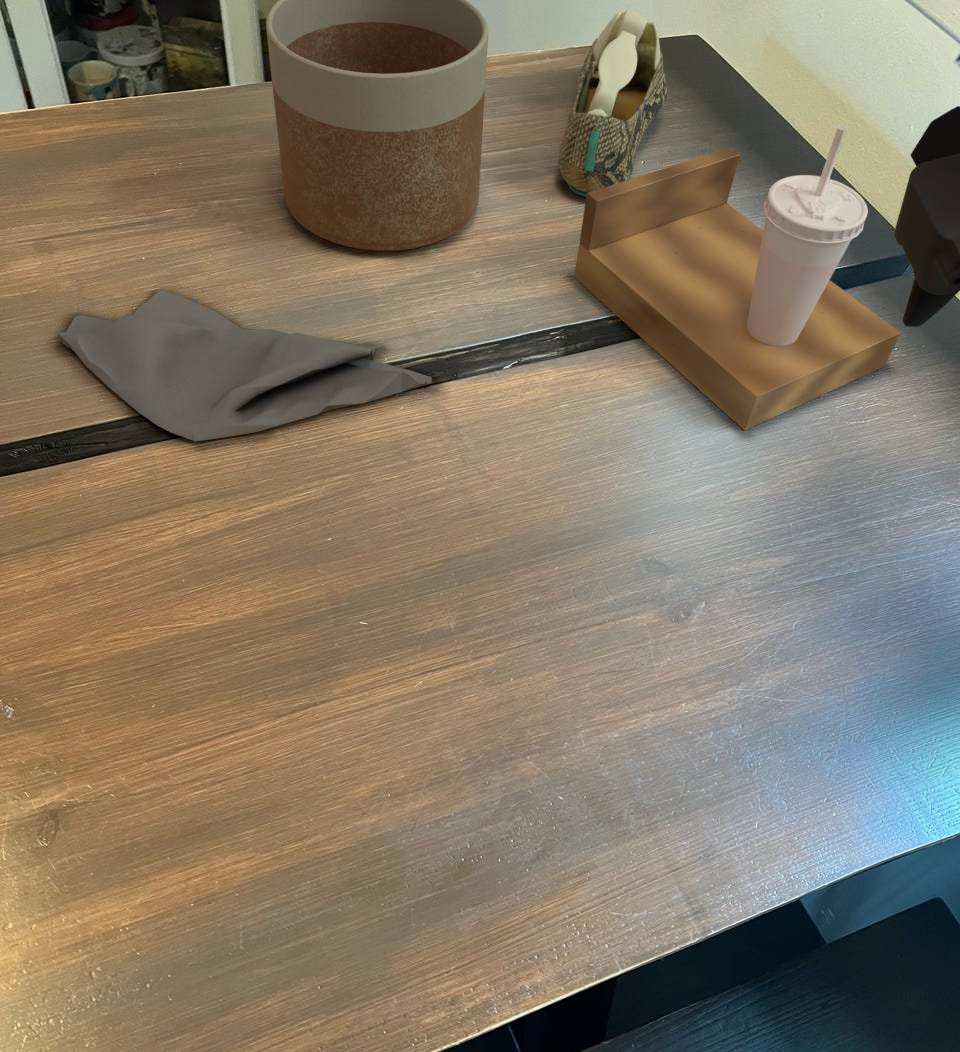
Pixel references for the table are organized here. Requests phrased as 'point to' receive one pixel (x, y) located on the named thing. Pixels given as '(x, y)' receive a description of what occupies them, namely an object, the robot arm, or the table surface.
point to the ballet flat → (613, 104)
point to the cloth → (225, 369)
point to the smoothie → (801, 248)
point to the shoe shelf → (715, 293)
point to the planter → (379, 117)
